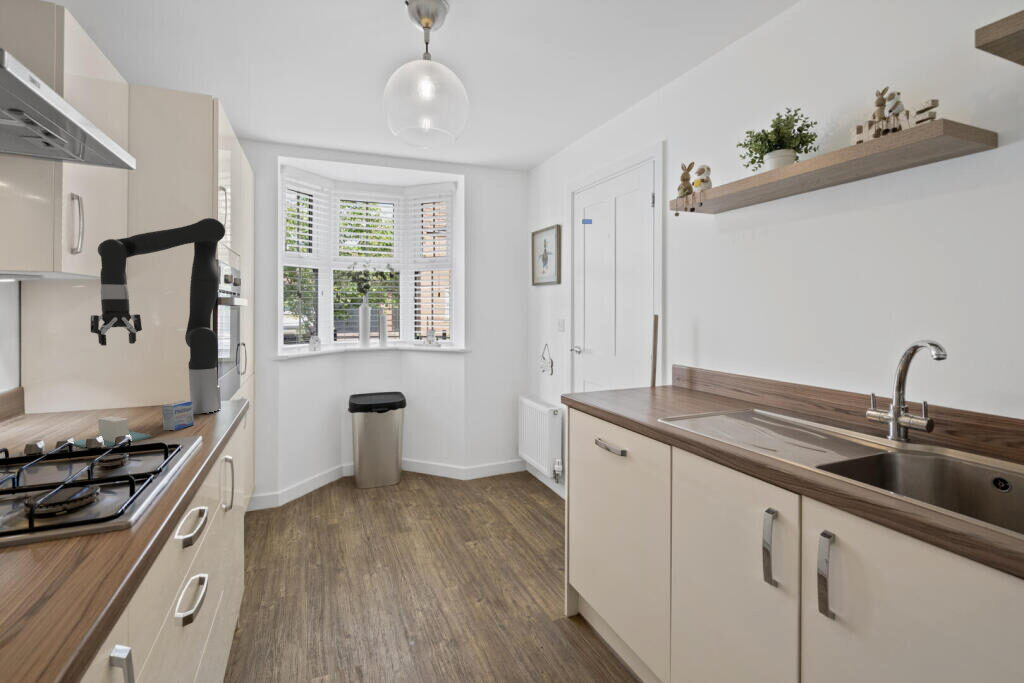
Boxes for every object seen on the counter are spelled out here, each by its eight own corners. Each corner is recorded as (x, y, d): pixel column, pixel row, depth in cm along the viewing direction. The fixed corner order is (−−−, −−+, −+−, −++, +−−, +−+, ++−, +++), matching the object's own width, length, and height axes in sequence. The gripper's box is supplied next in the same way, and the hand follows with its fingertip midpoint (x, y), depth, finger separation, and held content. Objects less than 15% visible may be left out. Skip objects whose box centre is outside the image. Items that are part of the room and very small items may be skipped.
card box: (114, 421, 145) (98, 418, 149) (116, 442, 146) (99, 439, 150) (128, 419, 148) (111, 415, 152) (129, 439, 149) (112, 436, 153)
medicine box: (174, 431, 161) (172, 405, 161) (163, 430, 162) (161, 405, 162) (194, 425, 169) (192, 400, 168) (183, 424, 170) (182, 400, 169)
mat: (126, 432, 160) (126, 430, 160) (151, 437, 154) (151, 435, 154) (69, 444, 146) (69, 442, 146) (94, 450, 140) (94, 448, 140)
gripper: (132, 298, 176) (135, 342, 177) (84, 297, 163) (87, 345, 165) (144, 298, 173) (146, 343, 174) (96, 297, 160) (99, 346, 161)
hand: (118, 344), depth 169 cm, fingers open, 8 cm apart
